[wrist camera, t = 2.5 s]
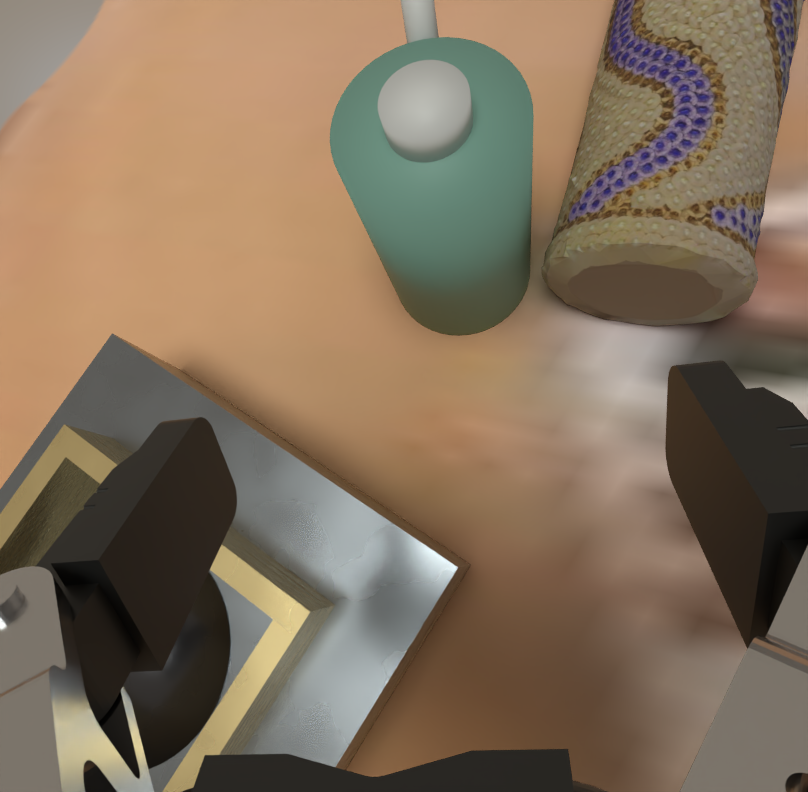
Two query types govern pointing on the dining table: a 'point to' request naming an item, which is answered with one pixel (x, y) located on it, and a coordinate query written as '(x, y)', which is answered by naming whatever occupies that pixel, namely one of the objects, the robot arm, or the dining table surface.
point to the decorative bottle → (674, 161)
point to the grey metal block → (244, 577)
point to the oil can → (442, 173)
